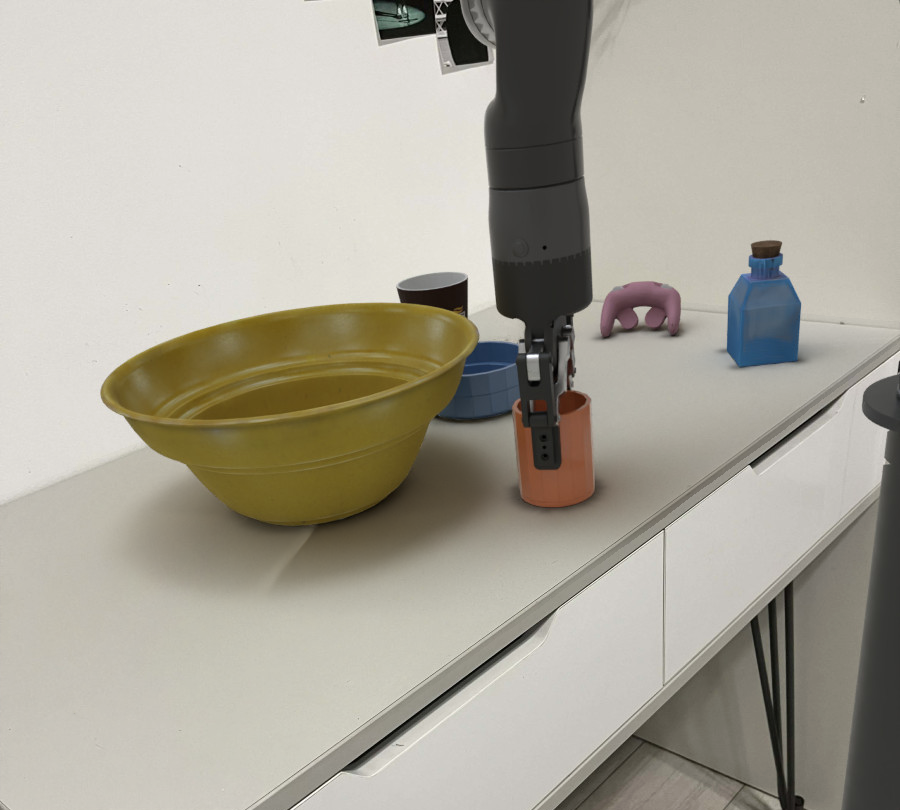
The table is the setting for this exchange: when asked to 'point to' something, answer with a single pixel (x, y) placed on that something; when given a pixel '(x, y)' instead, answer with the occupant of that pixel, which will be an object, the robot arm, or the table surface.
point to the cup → (576, 452)
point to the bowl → (486, 382)
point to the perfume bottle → (763, 311)
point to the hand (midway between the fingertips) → (554, 450)
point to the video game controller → (638, 295)
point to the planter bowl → (298, 403)
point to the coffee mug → (437, 291)
